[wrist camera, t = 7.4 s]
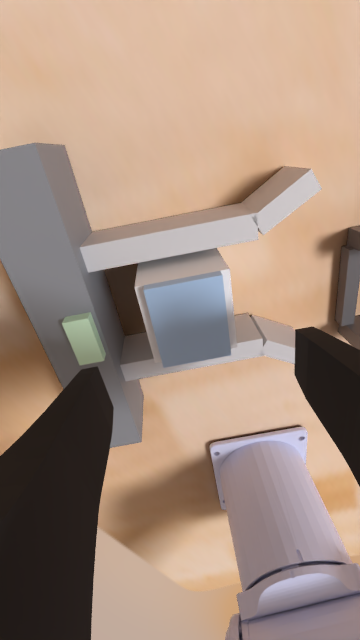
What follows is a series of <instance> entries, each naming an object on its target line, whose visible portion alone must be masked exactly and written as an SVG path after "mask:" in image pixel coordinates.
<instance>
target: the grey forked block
mask: <svg viewBox="0 0 360 640" xmlns="http://www.w3.org/2000/svg"><path fill="white" fill-rule="evenodd" d="M321 189H322V188H321V186H320V184H319V182H318V181H317V179H316V177H315V175H314V173H313V171H312V169H306V168H297V167H288V166H284V167H283V168H282V169H280V170H279V171H278V172H277V173H276V174H274V175H273V176H272V177H271V178H270V179H269V180H267V181H266V182H265V183H264V184H263V185H261V186H260V187H259V188H258V189H257V190H255V191H254V192H253V193H252V194H251V195H250V196H248V197H247V198H246V199H245V200H244V201H242V202H241V203H237V204H232V205H227V206H222V207H217V208H211V209H206V210H201V211H196V212H191V213H186V214H181V215H176V216H171V217H165V218H160V219H155V220H150V221H145V222H140V223H135V224H130V225H125V226H120V227H114V228H109V229H104V230H99V231H94V232H92V231H91V228H90V224H89V221H88V218H87V215H86V212H85V209H84V205H83V202H82V199H81V196H80V193H79V190H78V186H77V183H76V180H75V177H74V174H73V171H72V167H71V164H70V161H69V158H68V155H67V151H66V148H65V145H55V144H42V143H32V144H27V145H22V146H17V147H12V148H7V149H2V150H0V259H1V262H2V264H3V266H4V268H5V270H6V272H7V274H8V276H9V278H10V280H11V282H12V284H13V286H14V288H15V290H16V292H17V294H18V296H19V299H20V301H21V303H22V305H23V307H24V309H25V311H26V313H27V315H28V317H29V319H30V321H31V323H32V325H33V327H34V329H35V331H36V333H37V336H38V338H39V340H40V342H41V344H42V346H43V348H44V350H45V352H46V354H47V356H48V358H49V360H50V362H51V364H52V366H53V368H54V370H55V373H56V375H57V377H58V379H59V381H60V383H61V385H62V387H63V389H65V387H66V386H67V385H68V384H69V383H70V382H71V380H72V379H73V378H74V377H75V376H76V375H77V373H78V372H79V371H80V370H81V369H86V368H91V367H97V366H98V368H99V371H100V373H101V376H102V379H103V381H104V384H105V386H106V389H107V391H108V394H109V397H110V399H111V402H112V404H113V407H114V410H113V430H112V438H111V443H110V448H112V447H118V446H123V445H129V444H134V443H140V442H142V421H143V400H144V395H143V392H142V389H141V386H140V383H139V380H138V379H141V378H146V377H152V376H157V375H163V374H168V373H173V372H179V371H184V370H190V369H195V368H201V367H206V366H211V365H217V364H222V363H228V362H233V361H238V360H244V359H249V358H255V357H260V356H267V357H270V358H274V359H278V360H281V361H285V362H289V363H292V364H295V330H294V329H293V327H291V326H287V325H284V324H281V323H278V322H274V321H271V320H268V319H265V318H261V317H258V316H255V315H252V316H251V317H250V316H249V314H248V313H246V314H240V315H235V316H234V318H235V328H236V339H237V348H233V349H231V356H225V357H220V358H214V359H209V360H204V361H198V362H193V363H188V364H182V365H177V366H171V367H166V368H163V364H162V362H158V363H155V361H154V357H153V354H152V350H151V346H150V343H149V339H148V335H147V332H144V333H139V334H134V335H128V336H125V335H124V332H123V329H122V326H121V323H120V319H119V316H118V313H117V310H116V307H115V304H114V300H113V297H112V294H111V291H110V288H109V285H108V281H107V278H106V275H105V272H104V269H109V268H114V267H119V266H125V265H130V264H135V263H140V262H145V261H151V260H156V259H161V258H166V257H171V256H176V255H182V254H187V253H192V252H197V251H202V250H208V249H213V248H218V247H223V246H228V245H234V244H239V243H244V242H249V241H254V240H258V231H259V232H260V233H261V234H263V235H264V234H266V233H267V232H268V231H269V230H271V229H272V228H273V227H274V226H276V225H277V224H278V223H279V222H281V221H282V220H283V219H285V218H286V217H287V216H288V215H290V214H291V213H292V212H293V211H295V210H296V209H297V208H298V207H300V206H301V205H302V204H304V203H305V202H306V201H307V200H309V199H310V198H311V197H312V196H314V195H315V194H316V193H317V192H319V191H320V190H321Z"/></svg>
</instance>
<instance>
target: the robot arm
mask: <svg viewBox="0 0 360 640" xmlns="http://www.w3.org/2000/svg"><path fill="white" fill-rule="evenodd" d="M295 376H296V379H297V381H298V383H299V385H300V387H301V389H302V391H303V393H304V395H305V397H306V399H307V401H308V402H309V404H310V406H311V407H312V409H313V410H314V412H315V413H316V415H317V417H318V418H319V420H320V421H321V423H322V424H323V426H324V427H325V429H326V430H327V432H328V433H329V435H330V437H331V438H332V440H333V441H334V443H335V444H336V446H337V447H338V449H339V450H340V452H341V453H342V455H343V457H344V459H345V460H346V462H347V464H348V465H349V467H350V469H351V471H352V473H353V475H354V477H355V479H356V480H357V482H358V484H359V486H360V350H359V349H357V348H355V347H353V346H351V345H349V344H347V343H345V342H343V341H341V340H339V339H337V338H335V337H333V336H331V335H329V334H327V333H325V332H323V331H321V330H319V329H317V328H314V327H308V328H302V329H297V330H295ZM113 410H114V407H113V404H112V402H111V399H110V397H109V394H108V391H107V389H106V386H105V384H104V381H103V379H102V376H101V373H100V371H99V368H98V366H97V367H91V368H86V369H81V370H80V371H79V372H78V373H77V375H76V376H75V377H74V378H73V379H72V380H71V382H70V383H69V384H68V385H67V386H66V387H65V389H64V390H63V391H62V392H61V393H60V394H59V396H58V397H57V398H56V399H55V400H54V401H53V403H52V404H51V405H50V406H49V407H48V408H47V409H46V411H45V412H44V413H43V414H42V415H41V416H40V417H39V418H38V419H37V420H36V421H35V422H34V423H33V424H32V425H31V427H30V428H29V429H28V430H27V431H26V432H25V433H24V434H23V435H22V436H21V437H20V438H19V439H18V440H17V441H16V442H15V443H14V444H13V445H12V446H11V447H10V448H9V449H7V450H6V451H5V452H4V453H3V454H2V455H1V456H0V640H91V617H92V615H91V614H92V596H93V576H94V561H95V547H96V534H97V524H98V512H99V504H100V498H101V492H102V486H103V481H104V476H105V470H106V465H107V460H108V455H109V449H110V443H111V438H112V430H113ZM307 434H308V433H307V430H306V428H304V427H296V428H290V429H285V430H279V431H274V432H268V433H262V434H257V435H251V436H246V437H240V438H234V439H229V440H223V441H218V442H213V443H211V444H210V453H211V458H212V463H213V468H214V474H215V479H216V484H217V489H218V495H219V500H220V505H221V509H223V510H227V515H228V520H229V525H230V530H231V535H232V540H233V545H234V550H235V555H236V560H237V565H238V570H239V575H240V580H241V585H242V590H243V592H241V593H238V594H237V601H238V606H239V611H240V613H237V614H234V615H232V617H231V619H230V623H229V627H228V630H227V632H226V637H225V640H360V567H359V565H358V564H357V563H352V561H351V559H350V557H349V555H348V553H347V551H346V548H345V546H344V544H343V542H342V540H341V538H340V536H339V534H338V532H337V530H336V528H335V526H334V524H333V521H332V519H331V517H330V515H329V513H328V511H327V509H326V507H325V505H324V503H323V501H322V499H321V496H320V494H319V492H318V490H317V488H316V486H315V484H314V482H313V480H312V478H311V476H310V474H309V472H308V469H307V467H306V452H307Z"/></svg>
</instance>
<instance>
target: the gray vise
mask: <svg viewBox="0 0 360 640" xmlns="http://www.w3.org/2000/svg"><path fill="white" fill-rule="evenodd" d="M359 281H360V226H355V227H350V228H349V230H348V240H347V245H345V246H342V249H341V260H340V271H339V281H338V292H337V303H336V313H335V321H336V322H338V323H339V328H338V332H339V333H340V334H341V335H342V336H343V337H344V338H345V339H346V340H347V341H348V342H349V343H350V344H351V345H352V346H353V347H355V348H357V349H359V350H360V315H359V316H355V312H356V304H357V296H358V289H359Z"/></svg>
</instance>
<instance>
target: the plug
mask: <svg viewBox="0 0 360 640" xmlns="http://www.w3.org/2000/svg"><path fill="white" fill-rule="evenodd" d="M135 291H136V295H137V298H138V302H139V306H140V310H141V313H142V317H143V321H144V324H145V328H146V332H147V335H148V339H149V343H150V346H151V350H152V354H153V357H154V361H155V363H158V362H162V364H163V368H166V367H171V366H177V365H182V364H188V363H193V362H198V361H204V360H209V359H214V358H220V357H225V356H231V349H233V348H237V339H236V328H235V318H234V308H233V298H232V287H231V277H230V269H229V267H228V265H227V264H226V262H225V261H224V259H223V258H222V256H221V255H220V253H219V251H218V250H217V248H213V249H208V250H202V251H197V252H192V253H187V254H182V255H176V256H171V257H166V258H161V259H156V260H151V261H145V262H140V263H138V267H137V273H136V280H135Z"/></svg>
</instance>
